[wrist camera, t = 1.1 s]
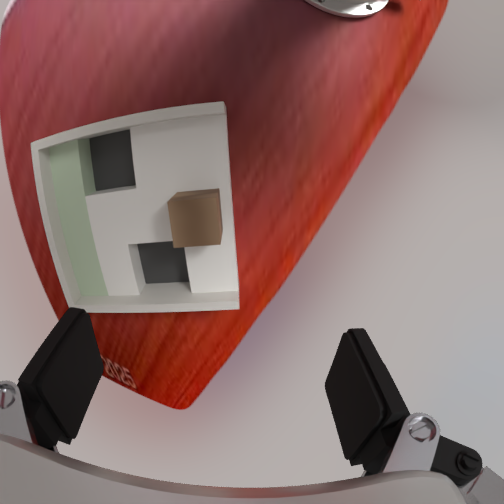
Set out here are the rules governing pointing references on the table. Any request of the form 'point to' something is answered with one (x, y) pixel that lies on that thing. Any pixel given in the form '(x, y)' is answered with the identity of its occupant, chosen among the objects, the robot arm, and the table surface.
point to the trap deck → (137, 211)
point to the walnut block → (196, 218)
